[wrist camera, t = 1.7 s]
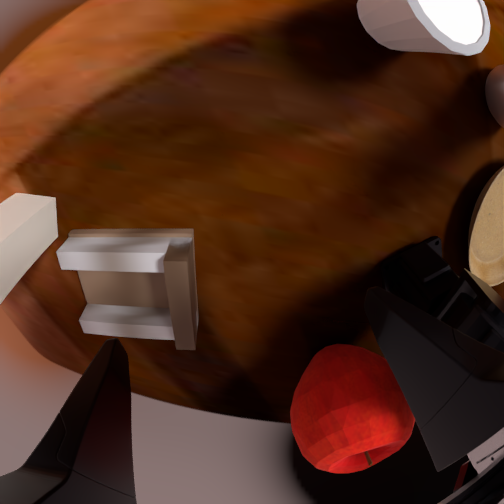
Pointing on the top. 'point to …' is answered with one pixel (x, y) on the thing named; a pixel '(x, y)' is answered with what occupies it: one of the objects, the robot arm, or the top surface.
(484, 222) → the plant saucer
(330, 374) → the apple
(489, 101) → the plastic bottle
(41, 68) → the top surface
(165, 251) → the sill track
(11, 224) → the white rectangular block
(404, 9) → the white cup
